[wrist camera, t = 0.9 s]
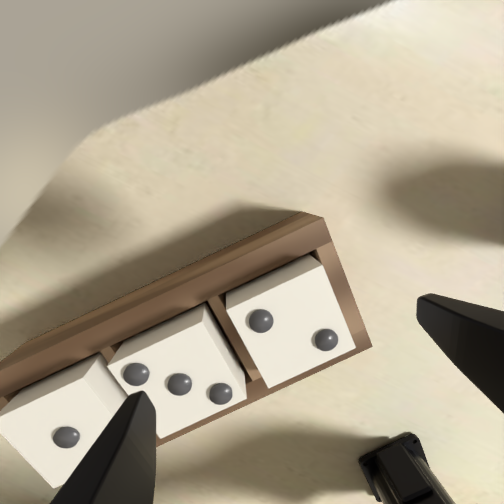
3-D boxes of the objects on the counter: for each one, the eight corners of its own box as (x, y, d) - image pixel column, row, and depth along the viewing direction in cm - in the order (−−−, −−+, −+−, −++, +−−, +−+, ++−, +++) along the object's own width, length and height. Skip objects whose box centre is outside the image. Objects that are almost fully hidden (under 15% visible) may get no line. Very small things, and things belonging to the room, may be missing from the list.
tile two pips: (338, 327, 18) (357, 349, 16) (263, 362, 18) (269, 391, 16) (308, 253, 17) (323, 265, 14) (226, 292, 17) (225, 311, 14)
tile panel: (344, 316, 22) (372, 346, 18) (97, 431, 23) (67, 488, 18) (302, 211, 20) (323, 217, 16) (25, 342, 20) (-30, 385, 16)
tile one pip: (150, 415, 19) (138, 452, 16) (75, 449, 19) (51, 492, 16) (103, 350, 17) (81, 379, 14) (22, 388, 17) (-14, 424, 15)
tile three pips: (244, 371, 18) (247, 401, 16) (169, 406, 19) (159, 441, 16) (205, 302, 17) (201, 323, 14) (123, 341, 17) (105, 368, 14)
